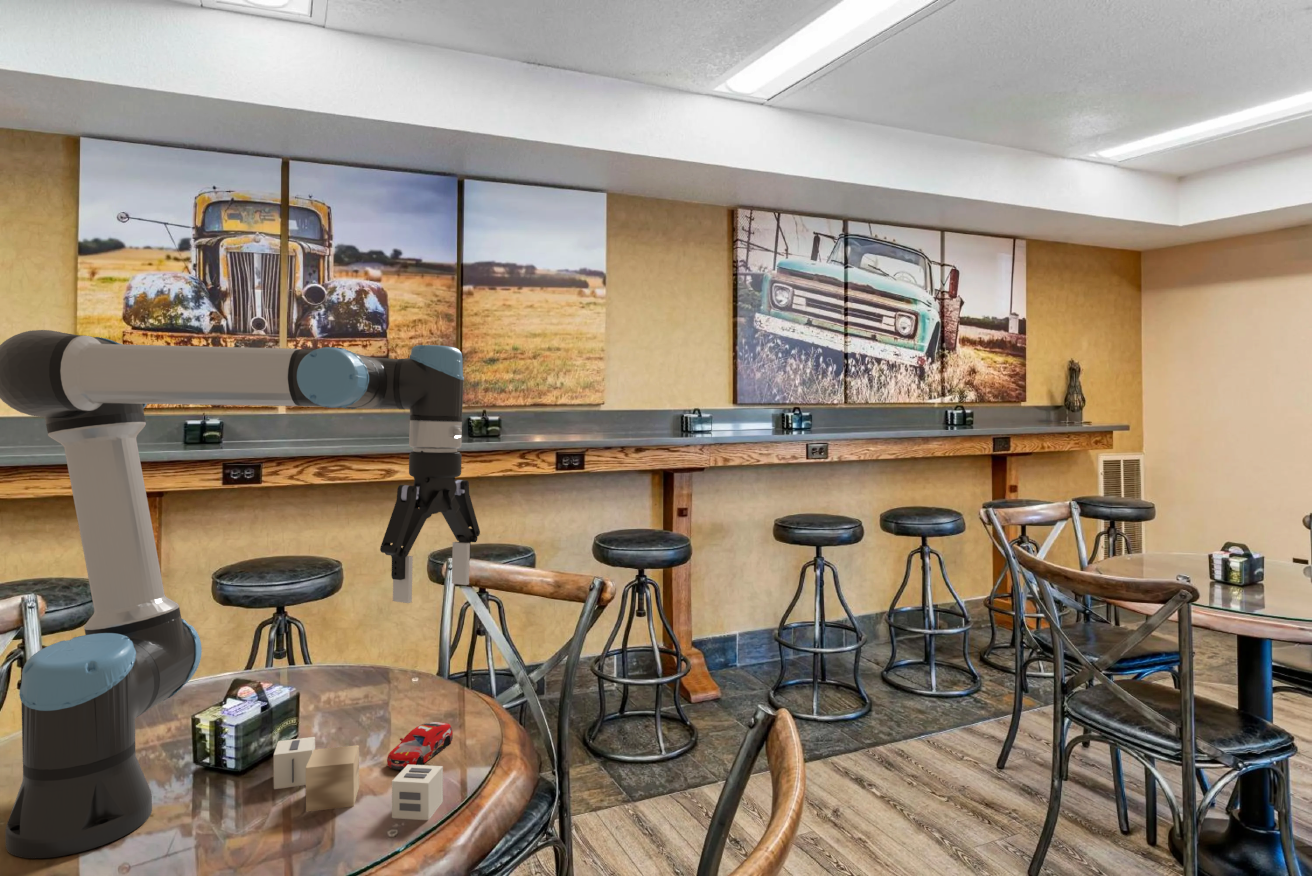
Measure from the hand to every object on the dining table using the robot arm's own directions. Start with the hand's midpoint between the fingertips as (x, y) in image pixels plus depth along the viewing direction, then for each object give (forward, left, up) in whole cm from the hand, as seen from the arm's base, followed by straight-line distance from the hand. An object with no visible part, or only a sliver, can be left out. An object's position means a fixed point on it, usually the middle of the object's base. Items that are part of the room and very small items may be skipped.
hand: (432, 592), depth 116 cm
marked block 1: (-20, 0, -27) cm, 33 cm away
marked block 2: (-1, -12, -27) cm, 29 cm away
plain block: (-13, -7, -27) cm, 30 cm away
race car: (-3, +6, -27) cm, 28 cm away
